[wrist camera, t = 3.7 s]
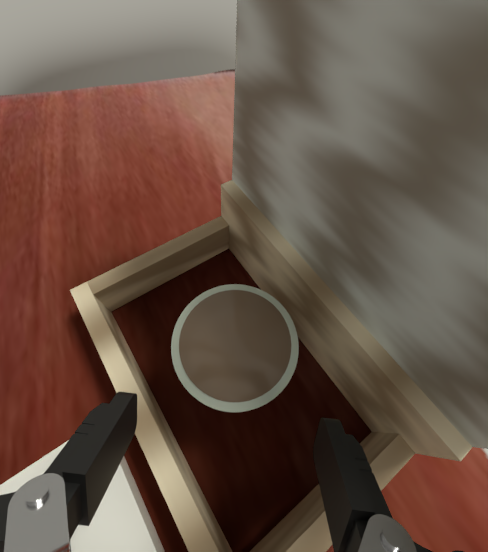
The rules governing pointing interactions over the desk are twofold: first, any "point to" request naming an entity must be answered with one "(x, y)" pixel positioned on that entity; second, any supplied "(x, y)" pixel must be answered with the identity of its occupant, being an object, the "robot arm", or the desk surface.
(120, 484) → the concrete tile
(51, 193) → the desk surface
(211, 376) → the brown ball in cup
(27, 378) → the desk surface
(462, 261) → the cold frame
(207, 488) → the desk surface
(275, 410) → the desk surface
